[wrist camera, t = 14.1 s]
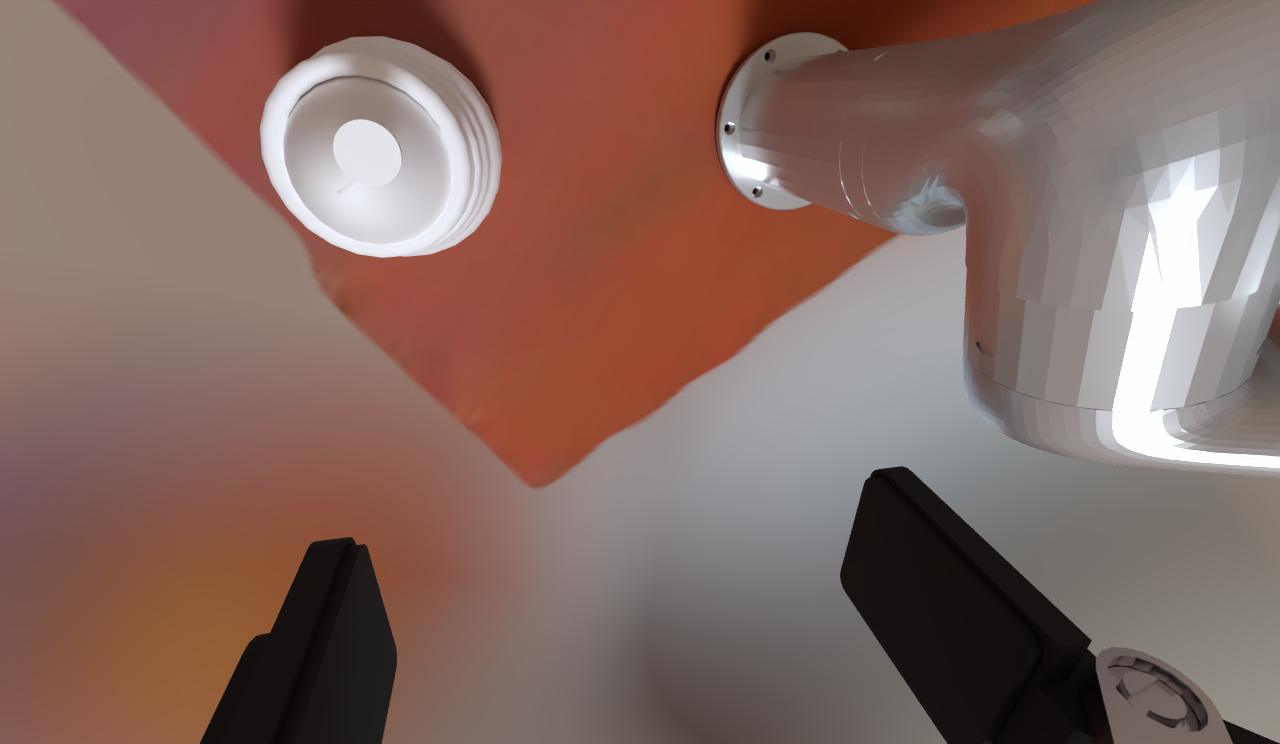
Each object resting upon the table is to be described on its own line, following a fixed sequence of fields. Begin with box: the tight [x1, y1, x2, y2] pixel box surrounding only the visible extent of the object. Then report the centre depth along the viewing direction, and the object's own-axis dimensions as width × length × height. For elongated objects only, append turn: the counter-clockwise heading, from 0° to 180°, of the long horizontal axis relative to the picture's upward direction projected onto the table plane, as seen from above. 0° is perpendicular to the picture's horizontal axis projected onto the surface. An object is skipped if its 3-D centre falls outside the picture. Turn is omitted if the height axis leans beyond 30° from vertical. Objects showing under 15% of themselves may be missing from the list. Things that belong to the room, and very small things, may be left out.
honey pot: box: [260, 36, 502, 258], centre depth 30 cm, size 13×13×18 cm
